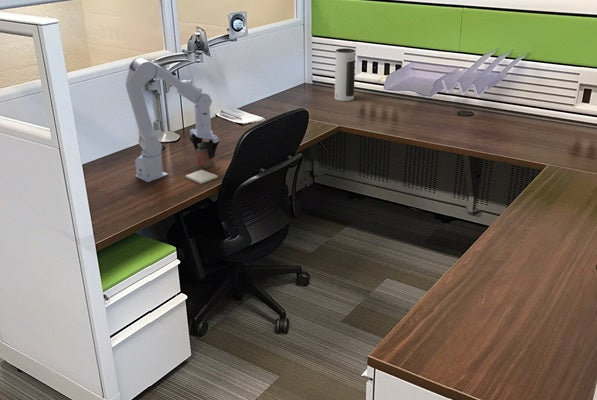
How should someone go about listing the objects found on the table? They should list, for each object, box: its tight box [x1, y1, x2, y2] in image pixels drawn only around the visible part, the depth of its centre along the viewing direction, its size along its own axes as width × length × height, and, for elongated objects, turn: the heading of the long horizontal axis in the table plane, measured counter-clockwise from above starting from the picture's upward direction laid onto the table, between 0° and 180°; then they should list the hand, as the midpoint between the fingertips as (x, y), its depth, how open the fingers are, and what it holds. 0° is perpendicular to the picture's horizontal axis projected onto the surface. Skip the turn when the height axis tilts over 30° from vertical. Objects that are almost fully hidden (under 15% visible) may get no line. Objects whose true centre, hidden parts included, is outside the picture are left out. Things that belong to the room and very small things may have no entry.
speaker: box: [334, 48, 356, 102], centre depth 327 cm, size 11×10×26 cm
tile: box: [185, 169, 219, 185], centre depth 236 cm, size 8×9×1 cm
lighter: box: [195, 140, 215, 170], centre depth 245 cm, size 8×3×10 cm, turn 141°
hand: (205, 155), depth 245 cm, fingers open, 7 cm apart
